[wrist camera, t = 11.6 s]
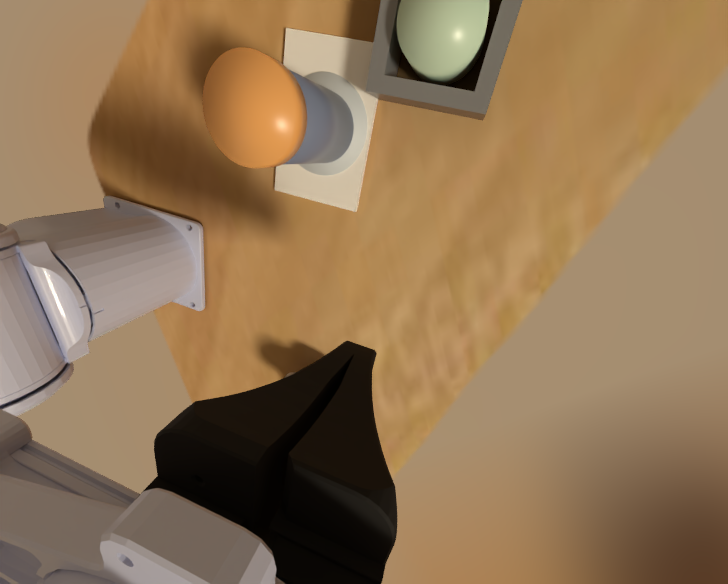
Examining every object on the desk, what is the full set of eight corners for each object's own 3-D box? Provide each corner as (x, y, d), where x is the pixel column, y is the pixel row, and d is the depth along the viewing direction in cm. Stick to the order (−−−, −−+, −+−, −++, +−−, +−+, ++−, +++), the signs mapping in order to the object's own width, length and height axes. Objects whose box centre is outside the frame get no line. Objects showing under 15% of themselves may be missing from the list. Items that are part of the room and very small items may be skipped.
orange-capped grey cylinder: (289, 158, 21) (206, 159, 14) (293, 83, 19) (198, 42, 12) (350, 170, 20) (291, 176, 13) (359, 91, 18) (297, 53, 11)
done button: (399, 78, 17) (387, 64, 14) (418, -12, 15) (409, -48, 13) (469, 91, 16) (470, 78, 14) (497, -2, 15) (504, -37, 12)
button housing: (378, 99, 18) (365, 90, 16) (404, -41, 16) (393, -75, 13) (483, 120, 17) (485, 114, 15) (530, -26, 14) (542, -61, 12)
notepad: (276, 189, 22) (273, 190, 22) (288, 29, 18) (285, 27, 18) (357, 211, 21) (355, 212, 21) (388, 46, 17) (386, 43, 17)
